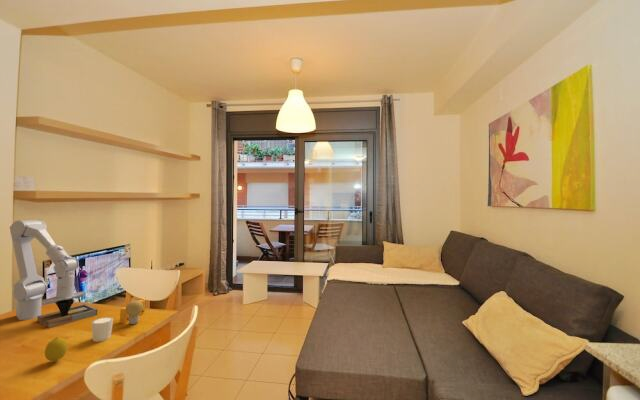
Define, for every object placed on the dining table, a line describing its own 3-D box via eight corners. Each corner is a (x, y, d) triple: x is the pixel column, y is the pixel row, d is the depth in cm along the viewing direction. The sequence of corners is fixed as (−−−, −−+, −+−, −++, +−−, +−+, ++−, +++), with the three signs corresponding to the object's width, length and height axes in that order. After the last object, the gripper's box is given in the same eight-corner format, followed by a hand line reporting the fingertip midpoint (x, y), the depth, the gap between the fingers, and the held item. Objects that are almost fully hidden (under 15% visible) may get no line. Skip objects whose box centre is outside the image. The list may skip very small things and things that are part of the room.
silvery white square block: (74, 314, 131) (74, 309, 131) (83, 312, 134) (83, 307, 134) (78, 316, 129) (78, 311, 129) (87, 314, 132) (87, 308, 132)
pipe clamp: (136, 312, 138) (137, 299, 138) (144, 313, 138) (145, 300, 138) (116, 322, 126) (116, 308, 127) (125, 323, 126) (125, 309, 126)
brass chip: (64, 317, 128) (65, 311, 128) (74, 314, 131) (74, 309, 131) (68, 319, 126) (68, 313, 126) (78, 316, 129) (78, 311, 129)
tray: (59, 315, 129) (60, 310, 129) (84, 309, 138) (85, 304, 138) (71, 321, 124) (71, 315, 124) (97, 314, 132) (97, 309, 132)
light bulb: (143, 319, 130) (144, 297, 130) (139, 325, 124) (140, 302, 124) (127, 321, 128) (128, 298, 128) (122, 327, 122) (123, 303, 122)
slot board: (37, 322, 123) (37, 316, 123) (84, 310, 138) (84, 304, 138) (49, 330, 117) (49, 322, 117) (97, 316, 132) (97, 310, 132)
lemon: (53, 357, 98) (54, 333, 98) (71, 357, 98) (72, 333, 98) (39, 366, 92) (40, 341, 92) (57, 366, 93) (58, 341, 93)
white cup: (116, 336, 114) (117, 318, 114) (98, 343, 108) (99, 325, 108) (104, 332, 116) (105, 315, 116) (86, 340, 110) (87, 322, 110)
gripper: (47, 291, 118) (45, 324, 118) (89, 283, 131) (87, 313, 130) (40, 288, 121) (39, 320, 121) (82, 281, 134) (80, 310, 134)
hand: (63, 316), depth 126 cm, fingers closed
